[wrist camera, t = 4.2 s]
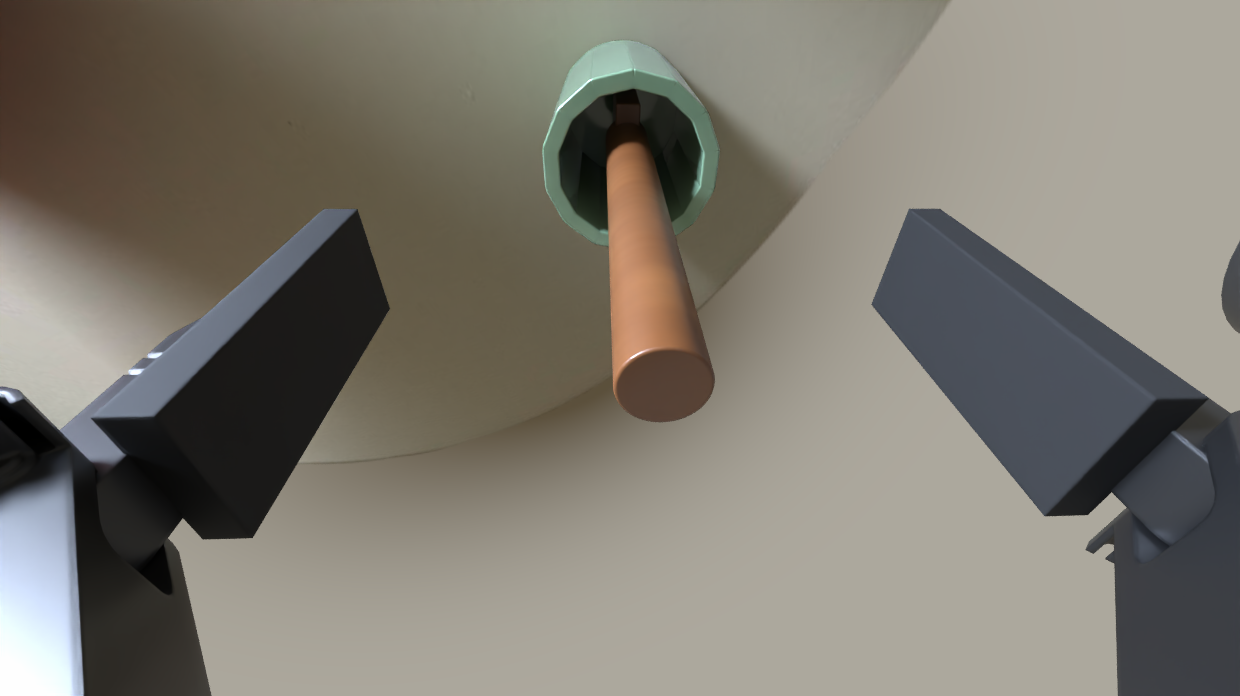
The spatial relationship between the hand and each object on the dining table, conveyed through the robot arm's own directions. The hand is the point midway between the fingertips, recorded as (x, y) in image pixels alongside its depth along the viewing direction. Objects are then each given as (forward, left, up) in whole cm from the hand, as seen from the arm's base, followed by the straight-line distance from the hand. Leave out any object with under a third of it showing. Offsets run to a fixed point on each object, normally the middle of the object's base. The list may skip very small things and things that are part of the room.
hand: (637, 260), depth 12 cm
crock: (0, 0, -16) cm, 16 cm away
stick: (0, 0, -15) cm, 15 cm away
